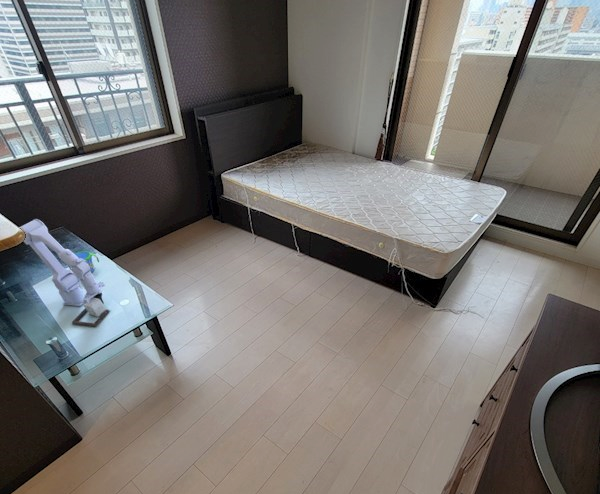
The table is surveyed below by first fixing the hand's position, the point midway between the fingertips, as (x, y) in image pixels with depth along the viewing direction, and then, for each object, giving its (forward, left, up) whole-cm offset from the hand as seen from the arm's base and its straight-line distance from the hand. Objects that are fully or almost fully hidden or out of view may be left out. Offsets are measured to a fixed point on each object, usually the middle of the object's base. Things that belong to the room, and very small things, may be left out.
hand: (100, 304), depth 176 cm
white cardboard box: (+1, -4, -1) cm, 4 cm away
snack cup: (-27, +28, -2) cm, 39 cm away
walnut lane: (0, -8, -1) cm, 8 cm away
